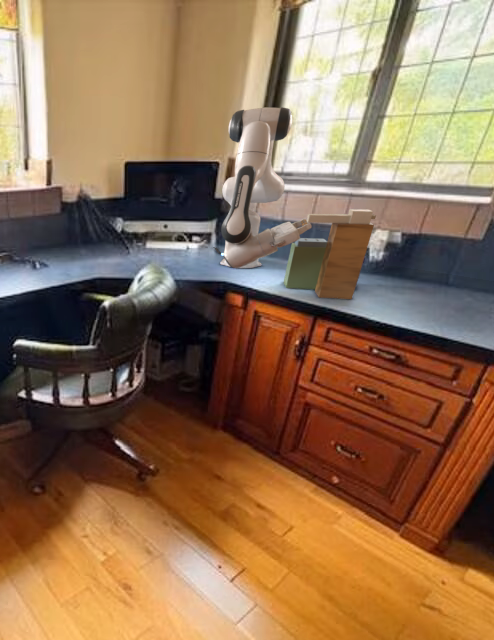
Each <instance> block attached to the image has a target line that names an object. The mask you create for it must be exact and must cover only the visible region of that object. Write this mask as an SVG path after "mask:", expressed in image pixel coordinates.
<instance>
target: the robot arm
mask: <svg viewBox="0 0 494 640" xmlns="http://www.w3.org/2000/svg"><path fill="white" fill-rule="evenodd" d="M292 127H293V115H292V111H291V109H290V108H287V107H284V106H283V107H282V106H281V107H259V108H250V109H240V110H237V111H235V112H234V113H233V114H232V116H231V119H230V120H229V124H228V134H229V139H230V140H231V141H232V142H235V143H238V147H237V151H236V157H235V164H234V176H231V177H228V178H227V179H226V180H225V181H224V184H223V185H222V189H221V193H222V194H221V195H222V197H223V199H224V200H225V202H227V203H228V204H229V205H230V208H229V212H228V214H227V215H226V217H225V218H224V220H223V221H222V224H221V227H220V233H221V236H222V238H223V240H225V244H224V250H223V252H221V251H219V250H218V248H217V247H216V248H214V250H215V252H216V253H217V254H219V255H220V256H223V259H222V260H220V263H219V264H220V265H221V266H226V267H230V268H232V269H236V270H237V269H253V268H256V267H257V268H258V267H262V263H261V261H259V259H261V258H262V259H263V258H265V257H268V256H270V255H272V254H274V253H276V252H278V251H279V249H278V248H283V247H285V246H288V245H290V244H292V243H295V241H297V240H299V239H300V238H301V236H300V235H302V234H304V233H306V231H308V230H310V229H312V224H311V223H308V222H307V218H302V219H301V220H298V221H295V222H293V223H292V222H291V221H286V222H283V223H281V224H278V225H276V226H273V227H272V228H266V229H264V230H263V231H261V232H260V233H259V231H260V225H261V216H260V214H259V213H258V212H256V211H254V210H253V209H251V208H250V206H251V204H255V203H256V204H268V203H273V202H277V201H279V199H280V198H282V196H283V194H284V193H285V181H284V179H283V178H282V177H281V176H279V175H278V174H277V173H276V172H275V170H274V168H273V163H272V158H273V150H274V149H273V148H274V143H275V142H277V141H281V140H284V139H285V138H286V137H287V136H288V134H289V133H290V131H291V129H292ZM274 141H275V142H274Z"/></svg>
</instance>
